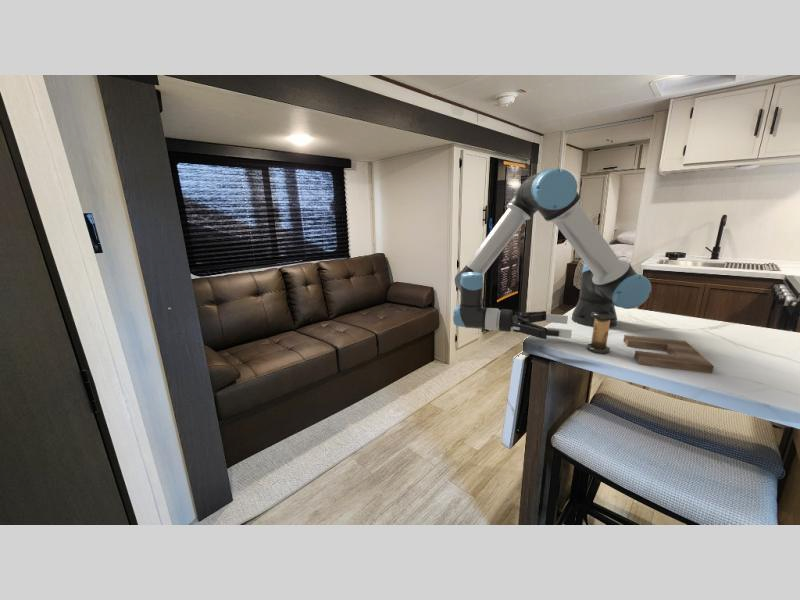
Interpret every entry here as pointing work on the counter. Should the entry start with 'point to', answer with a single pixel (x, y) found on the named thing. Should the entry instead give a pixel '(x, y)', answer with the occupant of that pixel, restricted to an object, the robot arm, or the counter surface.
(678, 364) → the notched board
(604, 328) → the bobbin
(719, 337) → the counter surface
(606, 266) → the robot arm
